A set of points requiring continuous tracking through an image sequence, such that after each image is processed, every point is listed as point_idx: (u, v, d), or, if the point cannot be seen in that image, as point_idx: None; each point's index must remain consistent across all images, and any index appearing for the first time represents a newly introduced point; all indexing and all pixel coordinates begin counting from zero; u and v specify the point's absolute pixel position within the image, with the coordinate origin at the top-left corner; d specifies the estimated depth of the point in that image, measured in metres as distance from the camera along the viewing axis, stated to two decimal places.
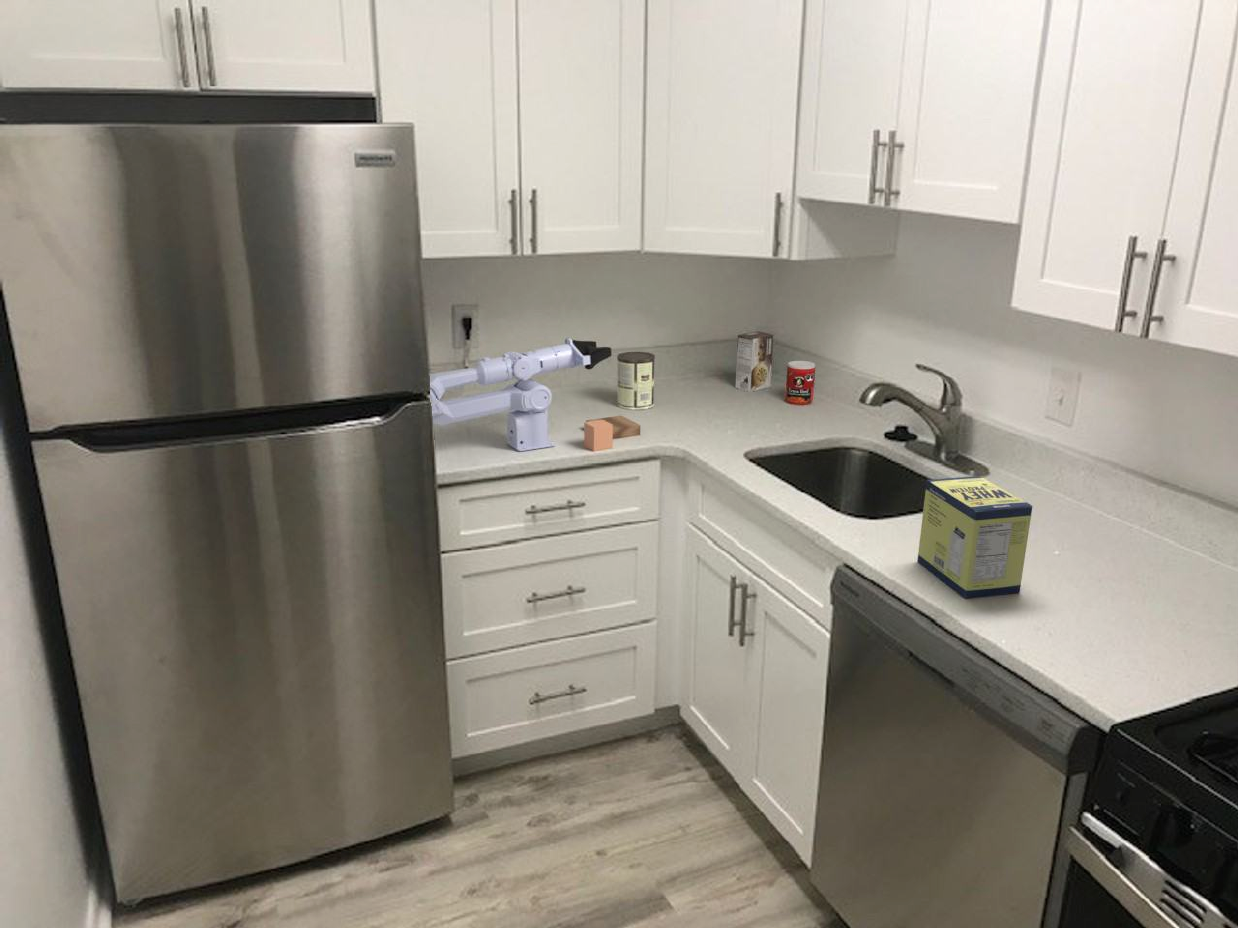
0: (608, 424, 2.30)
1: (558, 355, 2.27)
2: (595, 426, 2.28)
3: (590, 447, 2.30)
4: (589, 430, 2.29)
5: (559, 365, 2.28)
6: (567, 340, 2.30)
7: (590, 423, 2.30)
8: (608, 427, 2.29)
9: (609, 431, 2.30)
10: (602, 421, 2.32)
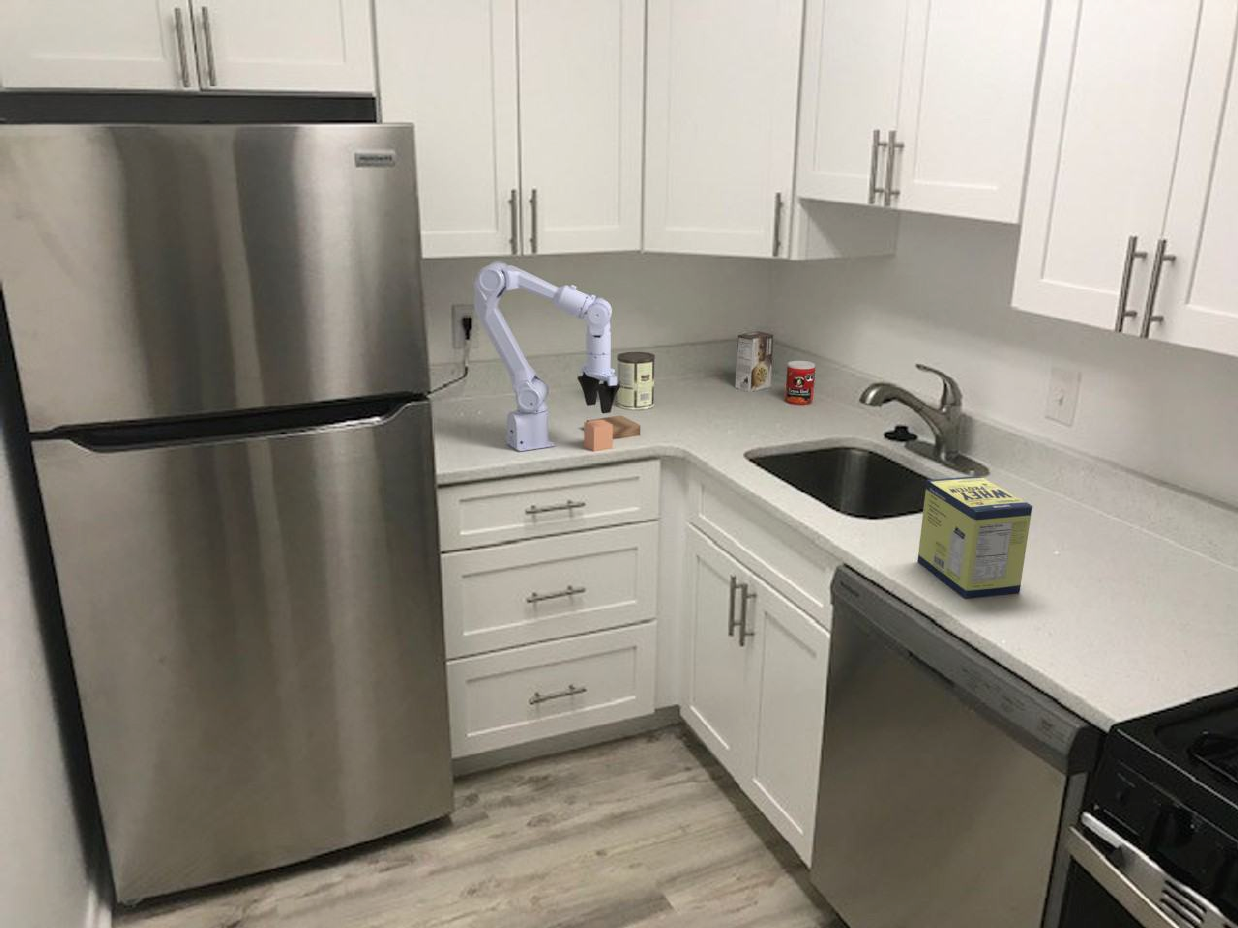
0: (608, 424, 2.30)
1: (608, 355, 2.23)
2: (595, 426, 2.28)
3: (590, 447, 2.30)
4: (589, 430, 2.29)
5: (599, 356, 2.22)
6: (611, 369, 2.28)
7: (590, 423, 2.30)
8: (608, 427, 2.29)
9: (609, 431, 2.30)
10: (602, 421, 2.32)
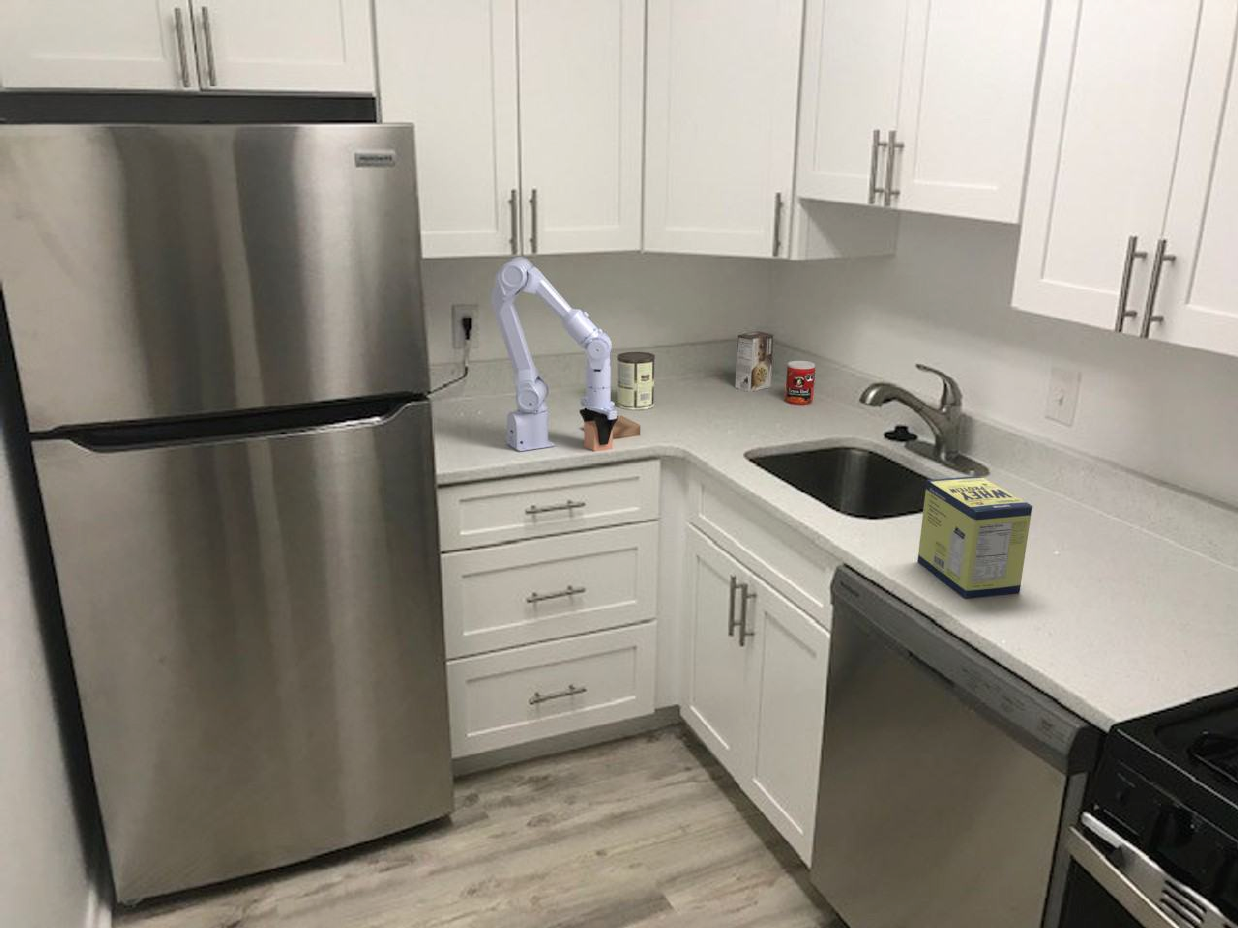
0: None
1: (608, 389, 2.26)
2: (595, 426, 2.28)
3: (590, 447, 2.30)
4: (589, 430, 2.29)
5: (599, 390, 2.25)
6: (611, 401, 2.31)
7: (590, 423, 2.30)
8: None
9: None
10: None
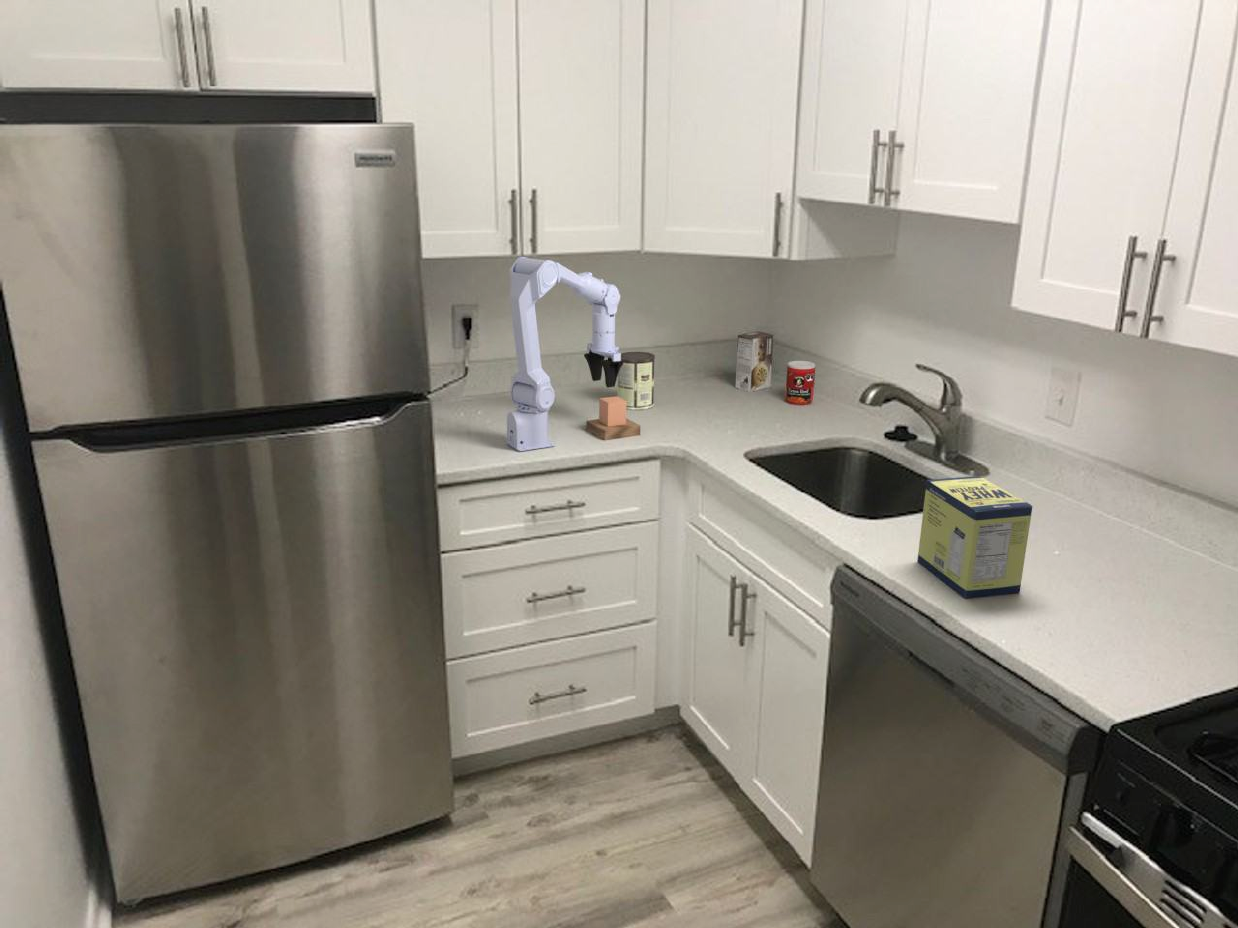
0: (622, 400, 2.40)
1: (612, 334, 2.43)
2: (609, 402, 2.39)
3: (604, 422, 2.41)
4: (604, 406, 2.40)
5: (604, 335, 2.42)
6: (615, 346, 2.48)
7: (605, 399, 2.41)
8: (622, 403, 2.40)
9: (623, 407, 2.40)
10: (616, 398, 2.43)
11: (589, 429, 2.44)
